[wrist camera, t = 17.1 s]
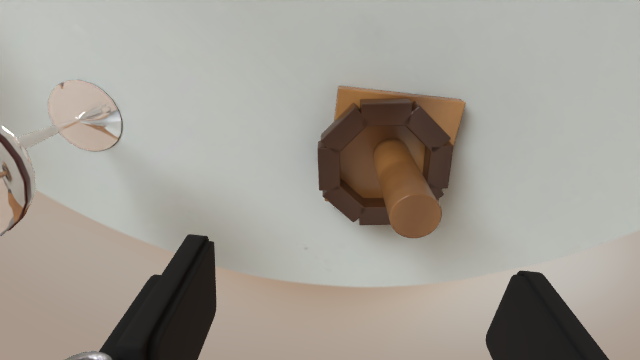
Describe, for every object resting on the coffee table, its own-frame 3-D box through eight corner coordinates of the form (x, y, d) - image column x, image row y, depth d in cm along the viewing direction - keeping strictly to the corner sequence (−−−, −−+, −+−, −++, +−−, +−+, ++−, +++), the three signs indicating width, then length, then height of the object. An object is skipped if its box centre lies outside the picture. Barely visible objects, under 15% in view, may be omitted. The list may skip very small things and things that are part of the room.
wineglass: (60, 42, 22) (-197, 68, 12) (153, 114, 24) (5, 196, 13) (18, 119, 25) (-230, 202, 14) (105, 180, 26) (-54, 296, 16)
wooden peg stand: (460, 99, 23) (530, 145, 15) (431, 206, 26) (475, 291, 18) (338, 85, 23) (341, 124, 15) (324, 194, 26) (321, 275, 18)
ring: (452, 96, 22) (459, 101, 21) (438, 213, 26) (443, 224, 24) (316, 99, 22) (315, 105, 21) (321, 215, 26) (320, 225, 25)
